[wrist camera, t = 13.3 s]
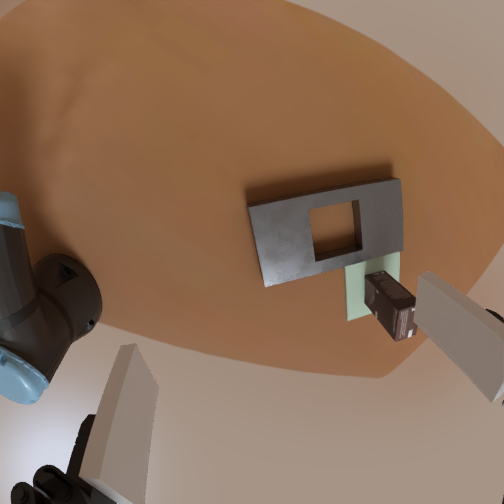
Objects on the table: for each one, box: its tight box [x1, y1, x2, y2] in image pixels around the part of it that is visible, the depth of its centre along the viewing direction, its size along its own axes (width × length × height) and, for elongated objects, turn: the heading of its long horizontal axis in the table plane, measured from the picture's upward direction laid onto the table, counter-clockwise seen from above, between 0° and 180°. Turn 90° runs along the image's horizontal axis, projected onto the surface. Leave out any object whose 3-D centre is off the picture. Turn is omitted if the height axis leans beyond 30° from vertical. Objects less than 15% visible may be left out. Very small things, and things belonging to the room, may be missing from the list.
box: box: [364, 270, 417, 342], centre depth 41 cm, size 6×4×12 cm
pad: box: [344, 251, 400, 321], centre depth 47 cm, size 11×11×1 cm
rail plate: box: [247, 177, 403, 287], centre depth 41 cm, size 24×12×2 cm, turn 102°
